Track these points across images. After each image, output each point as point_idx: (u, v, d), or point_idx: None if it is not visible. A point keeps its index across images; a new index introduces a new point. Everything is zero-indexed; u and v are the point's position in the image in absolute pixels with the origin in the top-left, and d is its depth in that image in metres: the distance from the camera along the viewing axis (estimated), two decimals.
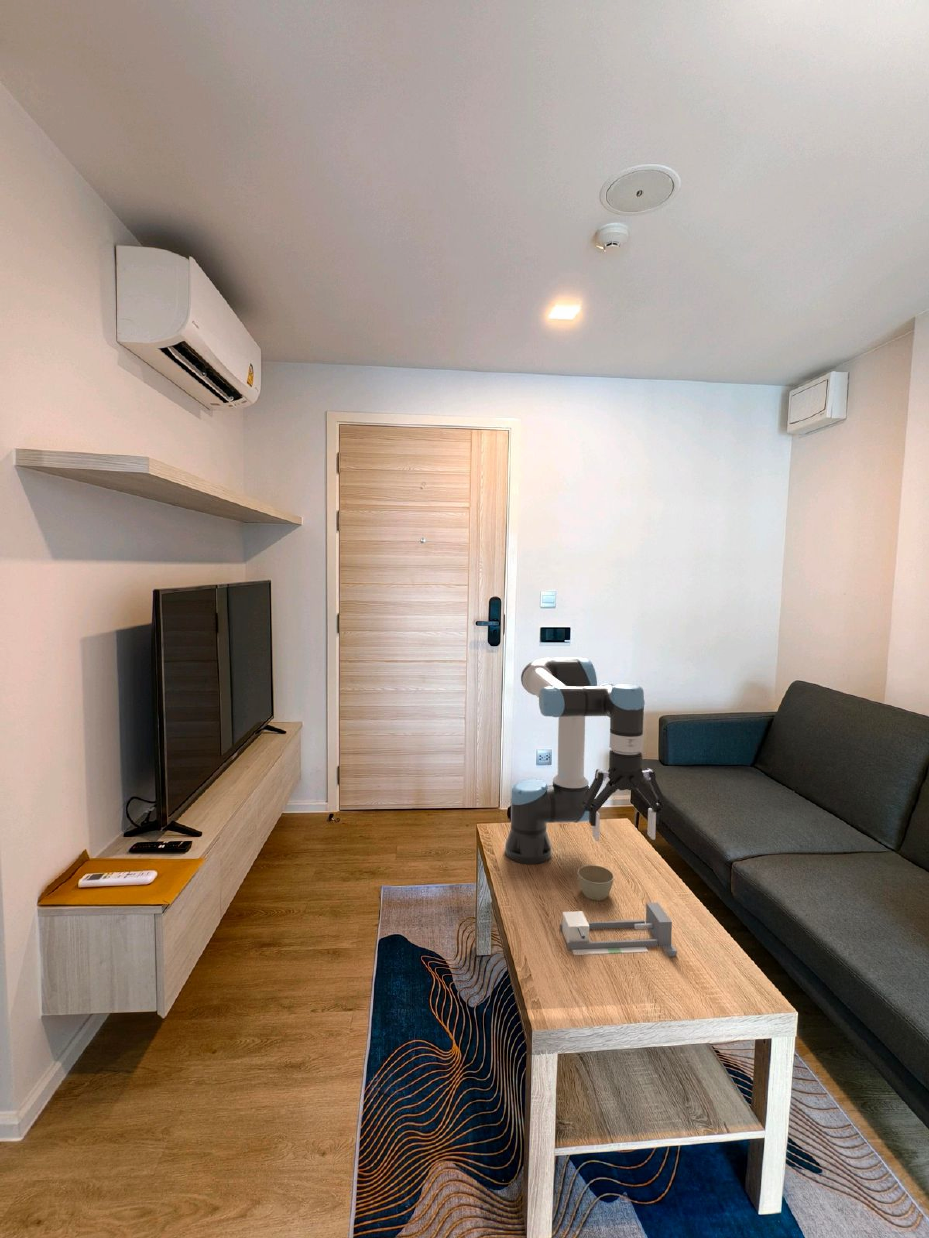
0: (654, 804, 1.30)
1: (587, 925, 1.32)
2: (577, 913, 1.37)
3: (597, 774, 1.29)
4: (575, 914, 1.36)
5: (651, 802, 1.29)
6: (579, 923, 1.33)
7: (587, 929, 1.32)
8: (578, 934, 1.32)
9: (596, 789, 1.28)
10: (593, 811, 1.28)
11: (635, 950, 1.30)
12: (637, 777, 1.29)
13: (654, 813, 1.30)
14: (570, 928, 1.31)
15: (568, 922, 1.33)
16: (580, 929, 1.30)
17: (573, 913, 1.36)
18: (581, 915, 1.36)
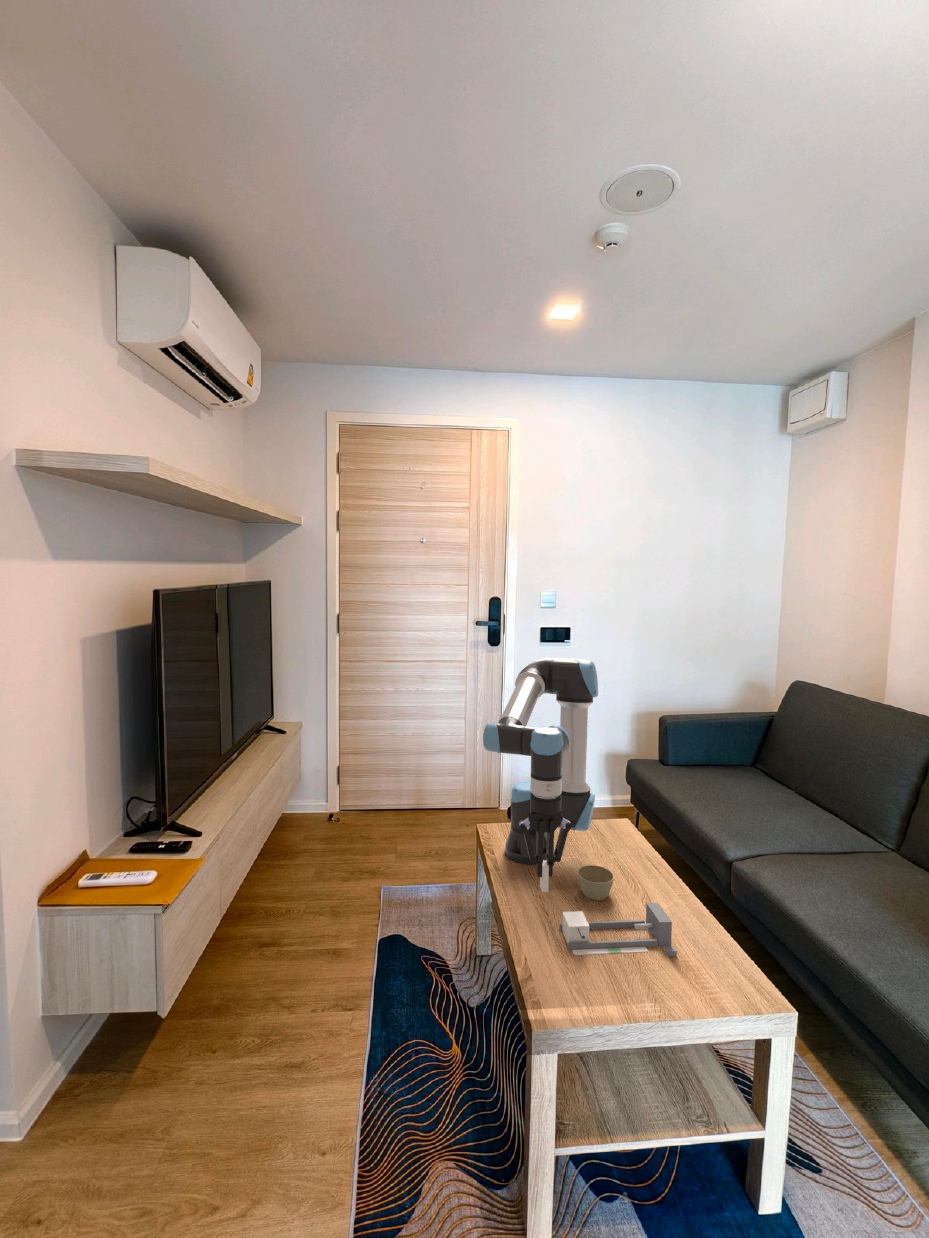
0: (551, 855, 1.32)
1: (587, 925, 1.32)
2: (577, 913, 1.37)
3: None
4: (575, 914, 1.36)
5: (550, 852, 1.32)
6: (579, 923, 1.33)
7: (587, 929, 1.32)
8: (578, 934, 1.32)
9: (528, 840, 1.31)
10: (540, 863, 1.31)
11: (635, 950, 1.30)
12: (556, 818, 1.31)
13: (547, 866, 1.32)
14: (570, 928, 1.31)
15: (568, 922, 1.33)
16: (580, 929, 1.30)
17: (573, 913, 1.36)
18: (581, 915, 1.36)
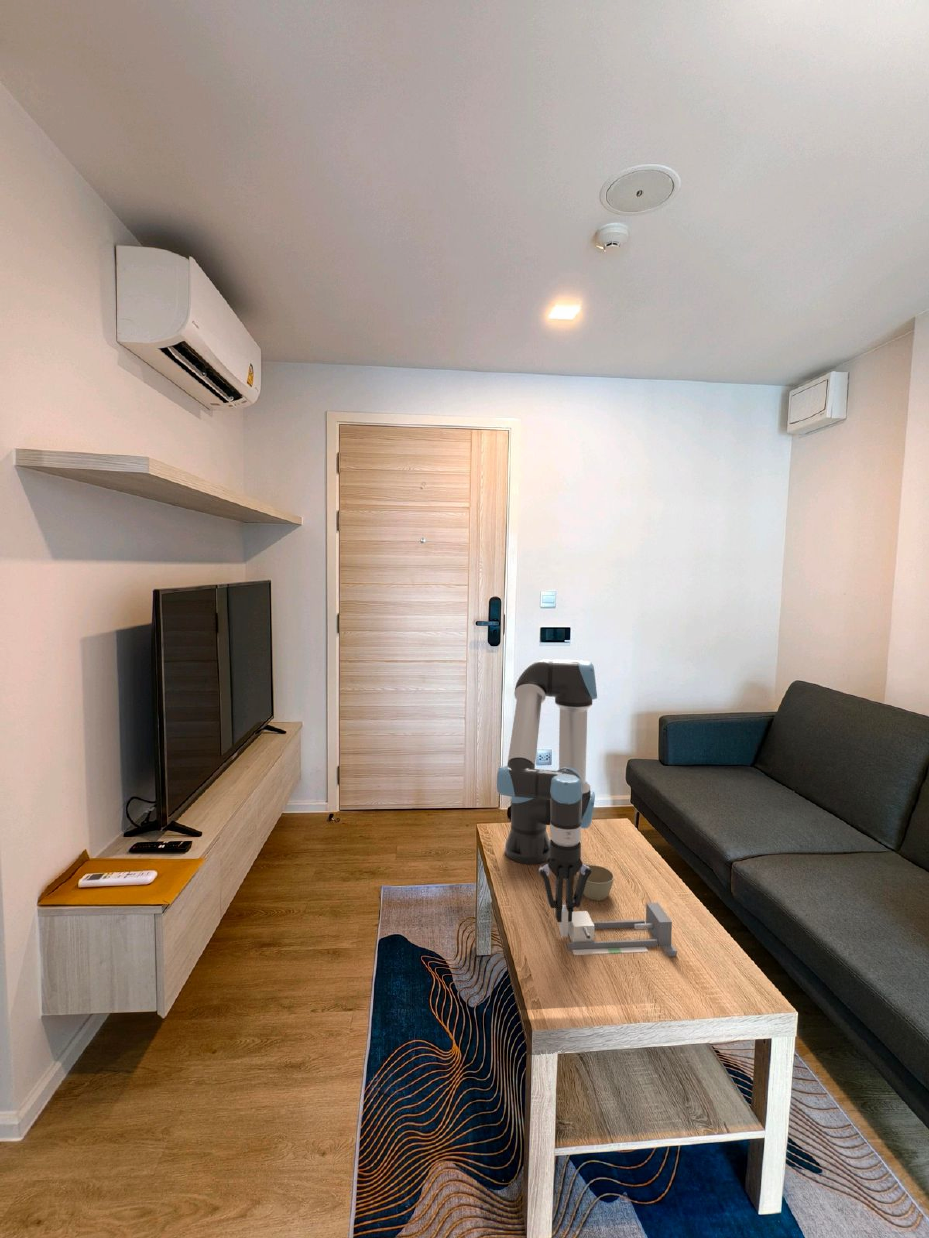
0: (571, 901, 1.33)
1: (592, 925, 1.32)
2: (582, 913, 1.37)
3: (540, 872, 1.33)
4: (580, 914, 1.36)
5: (570, 898, 1.33)
6: (584, 923, 1.33)
7: (592, 929, 1.32)
8: (583, 934, 1.32)
9: (548, 886, 1.32)
10: (559, 909, 1.33)
11: (635, 950, 1.30)
12: (575, 865, 1.32)
13: (566, 911, 1.33)
14: (575, 928, 1.31)
15: (573, 922, 1.33)
16: (585, 929, 1.30)
17: (577, 913, 1.37)
18: (586, 915, 1.36)
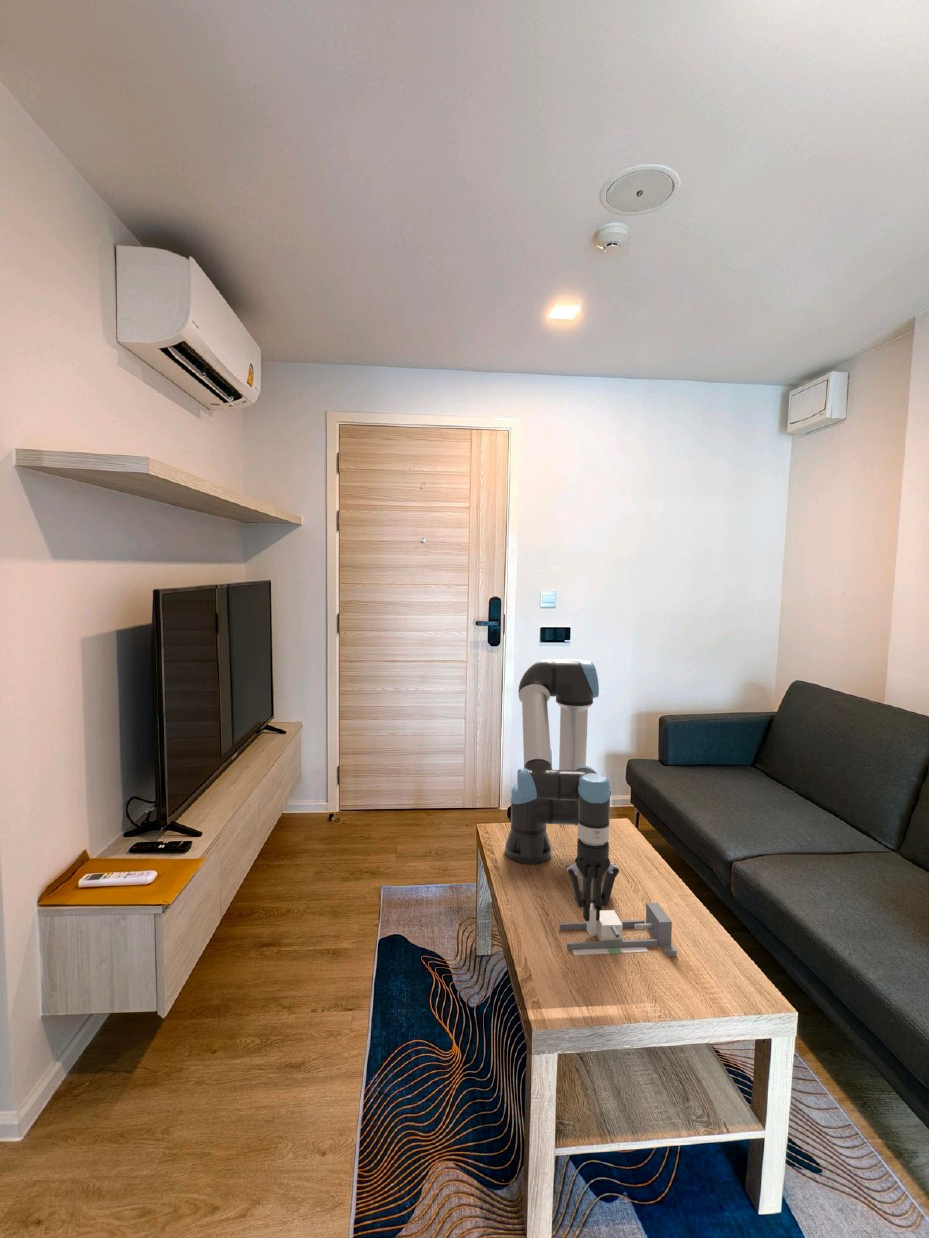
0: (599, 900, 1.33)
1: (620, 924, 1.33)
2: (609, 912, 1.37)
3: None
4: (607, 913, 1.37)
5: (598, 897, 1.33)
6: (612, 922, 1.33)
7: (620, 928, 1.32)
8: (611, 933, 1.32)
9: (576, 885, 1.33)
10: (587, 908, 1.33)
11: (635, 950, 1.30)
12: (603, 864, 1.33)
13: (594, 910, 1.33)
14: (603, 927, 1.32)
15: (601, 921, 1.34)
16: (614, 928, 1.31)
17: (605, 912, 1.37)
18: (613, 914, 1.36)
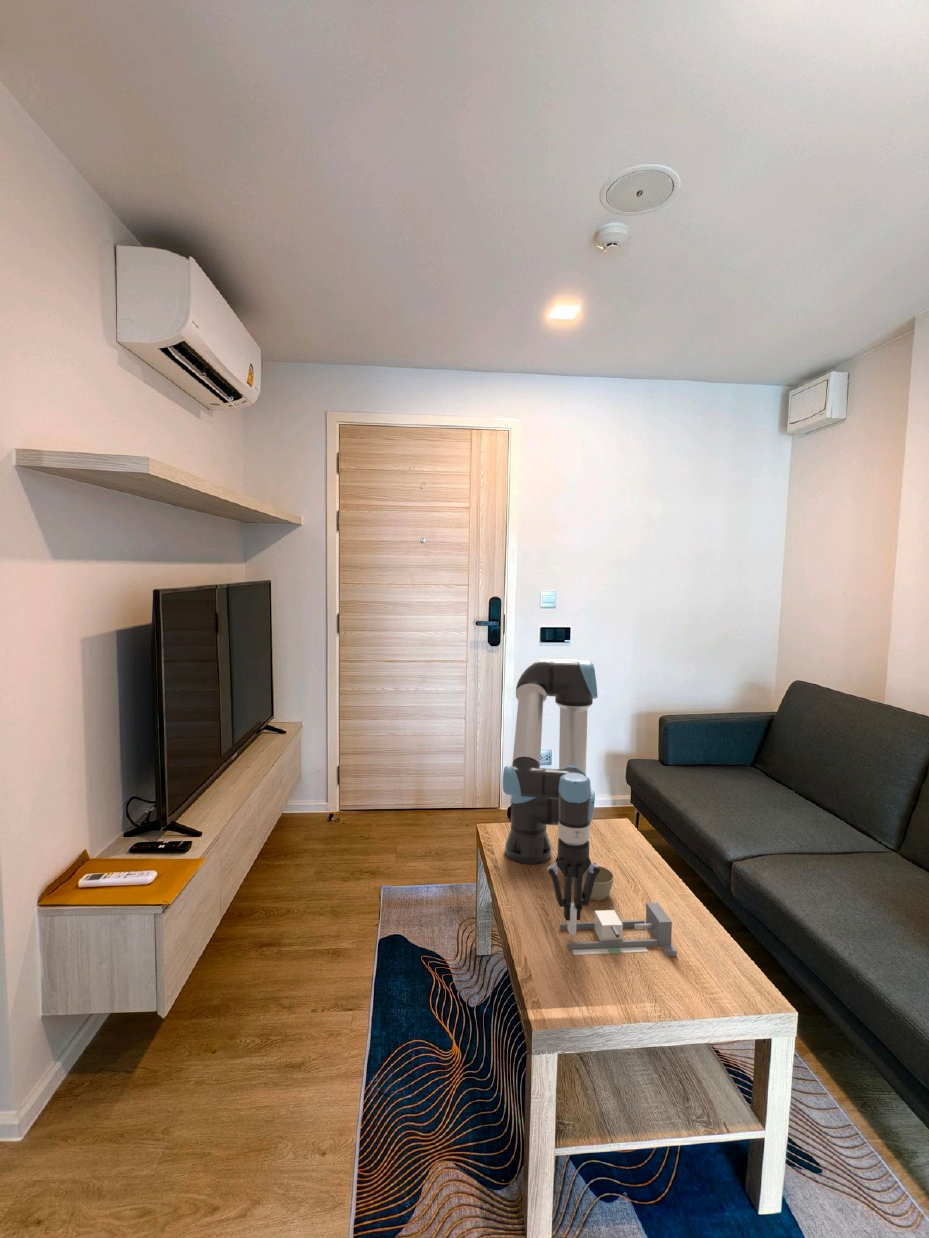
0: (579, 899, 1.33)
1: (620, 924, 1.33)
2: (609, 912, 1.37)
3: (548, 871, 1.33)
4: (607, 913, 1.37)
5: (578, 896, 1.33)
6: (612, 922, 1.33)
7: (620, 928, 1.32)
8: (611, 933, 1.32)
9: (556, 885, 1.32)
10: (568, 907, 1.33)
11: (635, 950, 1.30)
12: (584, 863, 1.33)
13: (575, 910, 1.33)
14: (604, 927, 1.32)
15: (601, 921, 1.34)
16: (614, 928, 1.31)
17: (605, 912, 1.37)
18: (613, 914, 1.36)
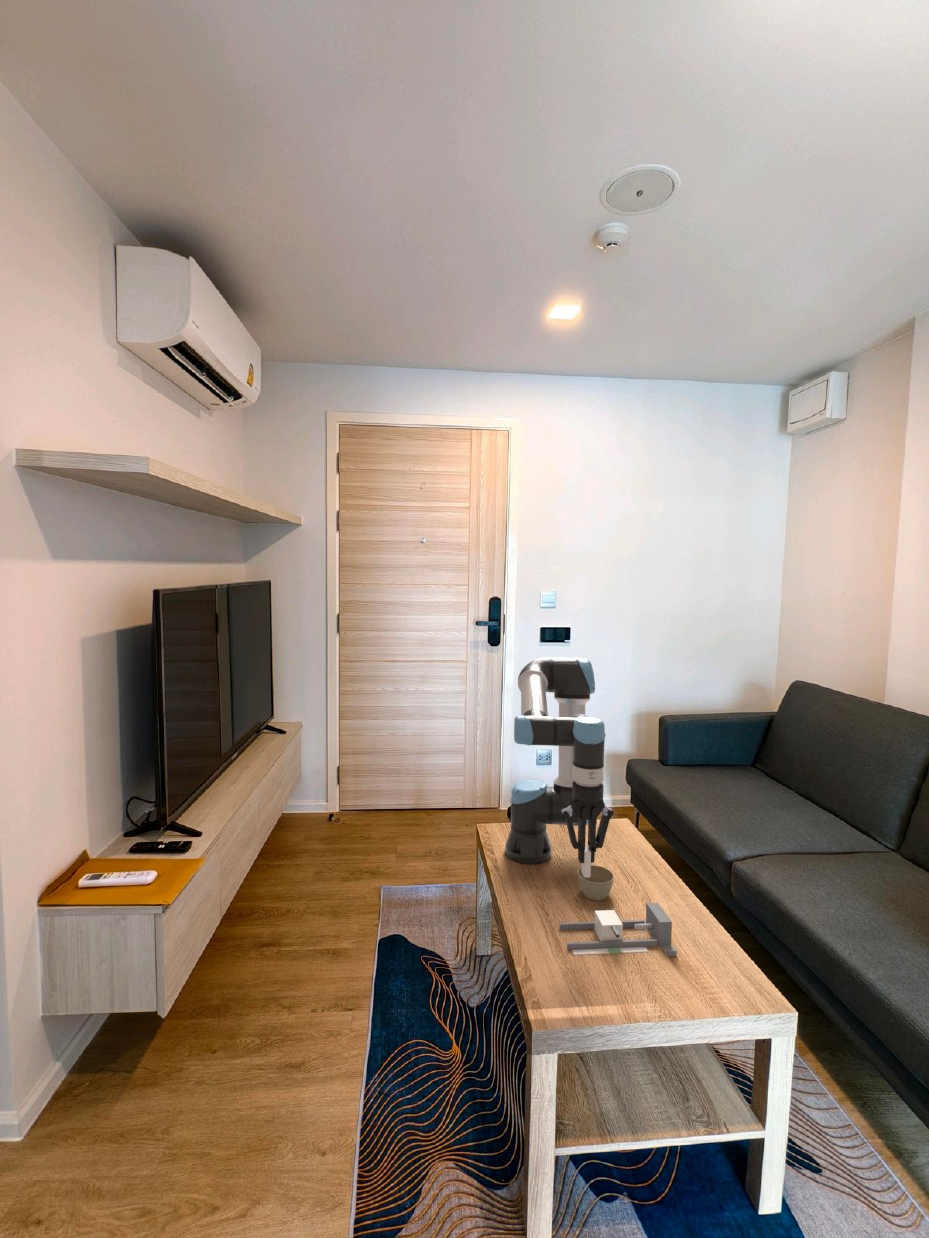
0: (593, 842, 1.34)
1: (620, 924, 1.33)
2: (609, 912, 1.37)
3: None
4: (607, 913, 1.37)
5: (592, 839, 1.34)
6: (612, 922, 1.33)
7: (620, 928, 1.32)
8: (611, 933, 1.32)
9: (571, 827, 1.34)
10: (582, 849, 1.34)
11: (635, 950, 1.30)
12: (598, 806, 1.34)
13: (589, 852, 1.34)
14: (604, 927, 1.32)
15: (601, 921, 1.34)
16: (614, 928, 1.31)
17: (605, 912, 1.37)
18: (613, 914, 1.36)
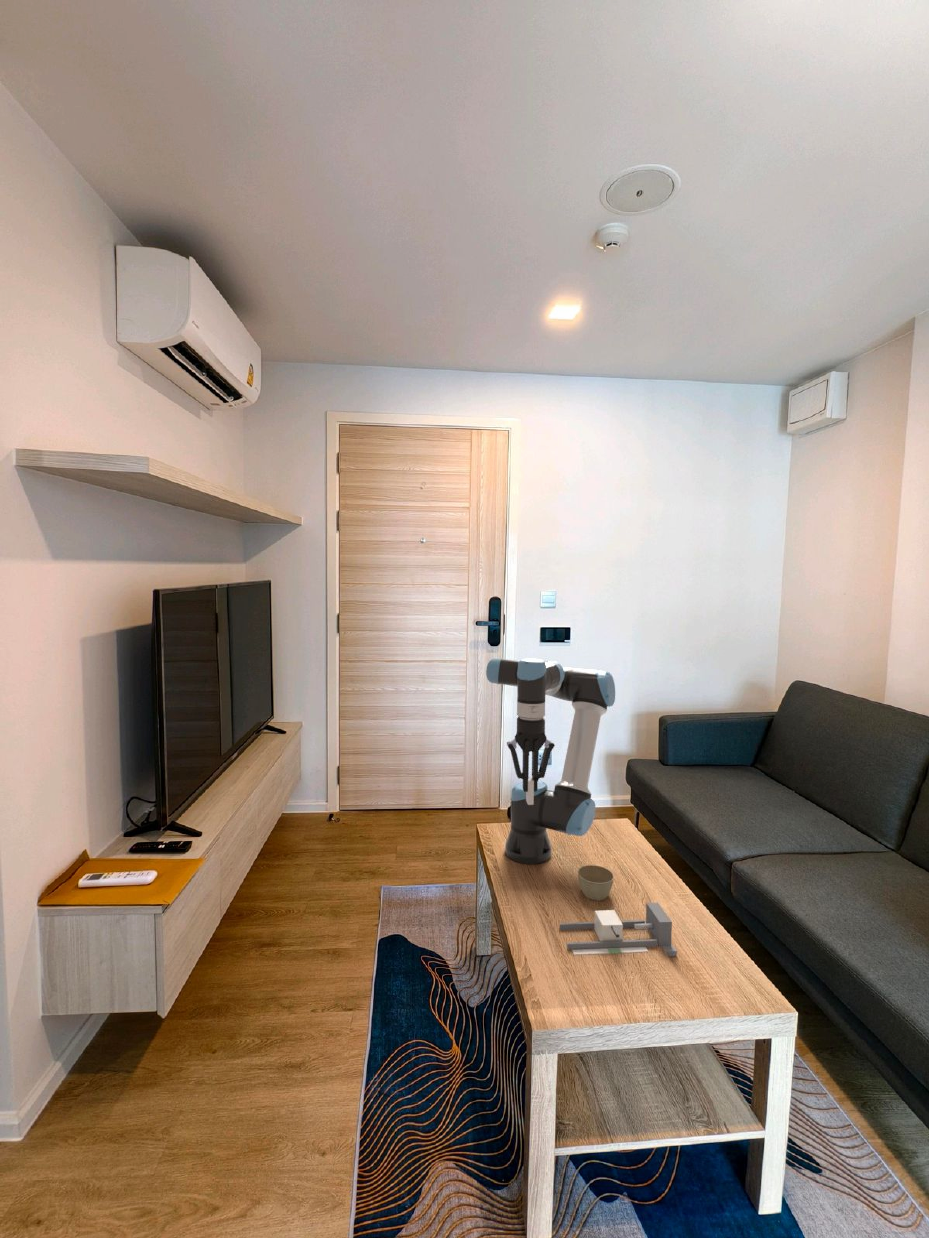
0: (536, 772, 1.47)
1: (620, 924, 1.33)
2: (609, 912, 1.37)
3: (508, 746, 1.47)
4: (607, 913, 1.37)
5: (535, 769, 1.47)
6: (612, 922, 1.33)
7: (620, 928, 1.32)
8: (611, 933, 1.32)
9: (515, 758, 1.46)
10: (525, 779, 1.46)
11: (635, 950, 1.30)
12: (540, 739, 1.46)
13: (532, 781, 1.47)
14: (604, 927, 1.32)
15: (601, 921, 1.34)
16: (614, 928, 1.31)
17: (605, 912, 1.37)
18: (613, 914, 1.36)
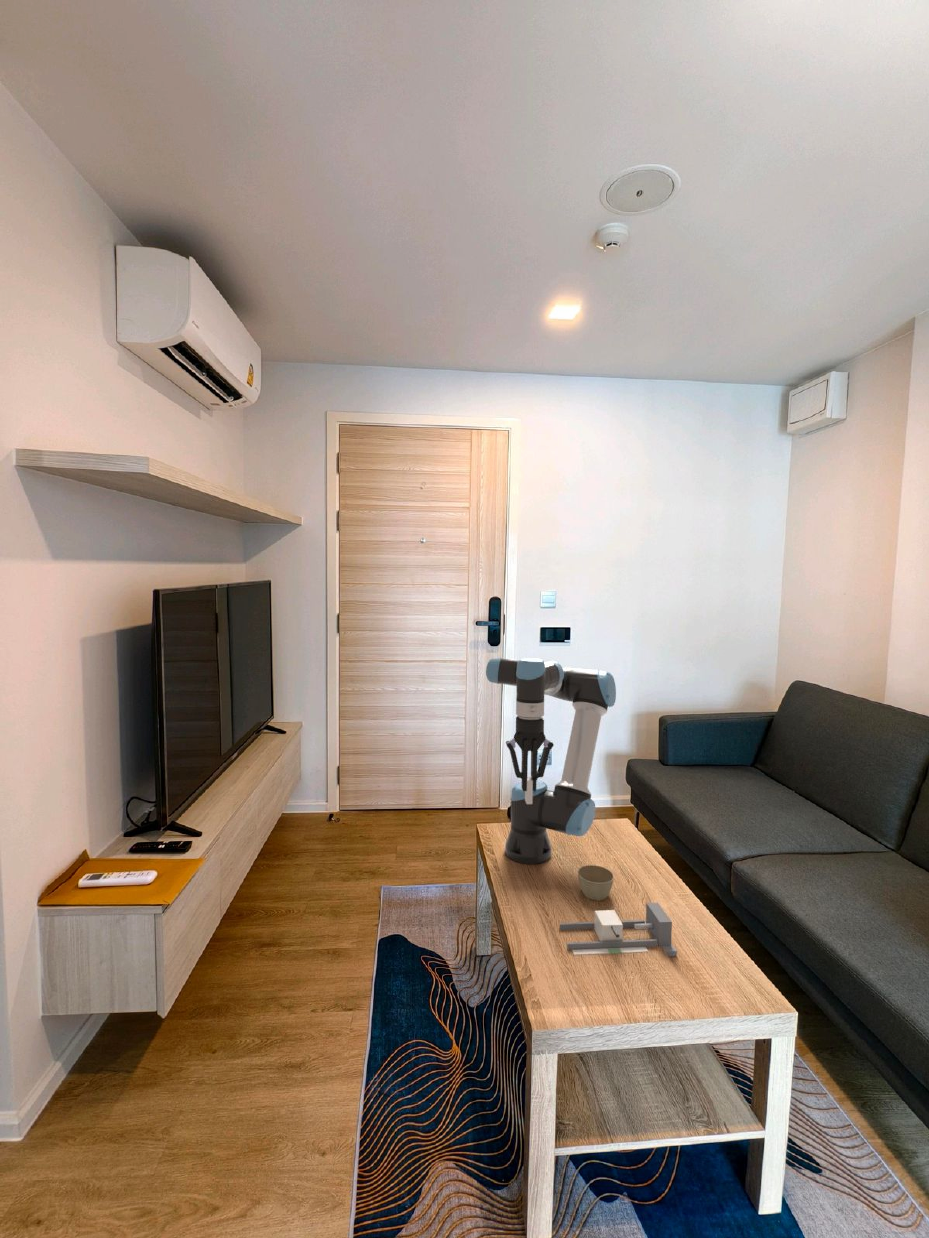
0: (535, 771, 1.47)
1: (620, 924, 1.33)
2: (609, 912, 1.37)
3: None
4: (607, 913, 1.37)
5: (534, 768, 1.47)
6: (612, 922, 1.33)
7: (620, 928, 1.32)
8: (611, 933, 1.32)
9: (514, 757, 1.46)
10: (524, 778, 1.47)
11: (635, 950, 1.30)
12: (539, 738, 1.46)
13: (531, 781, 1.47)
14: (604, 927, 1.32)
15: (601, 921, 1.34)
16: (614, 928, 1.31)
17: (605, 912, 1.37)
18: (613, 914, 1.36)
